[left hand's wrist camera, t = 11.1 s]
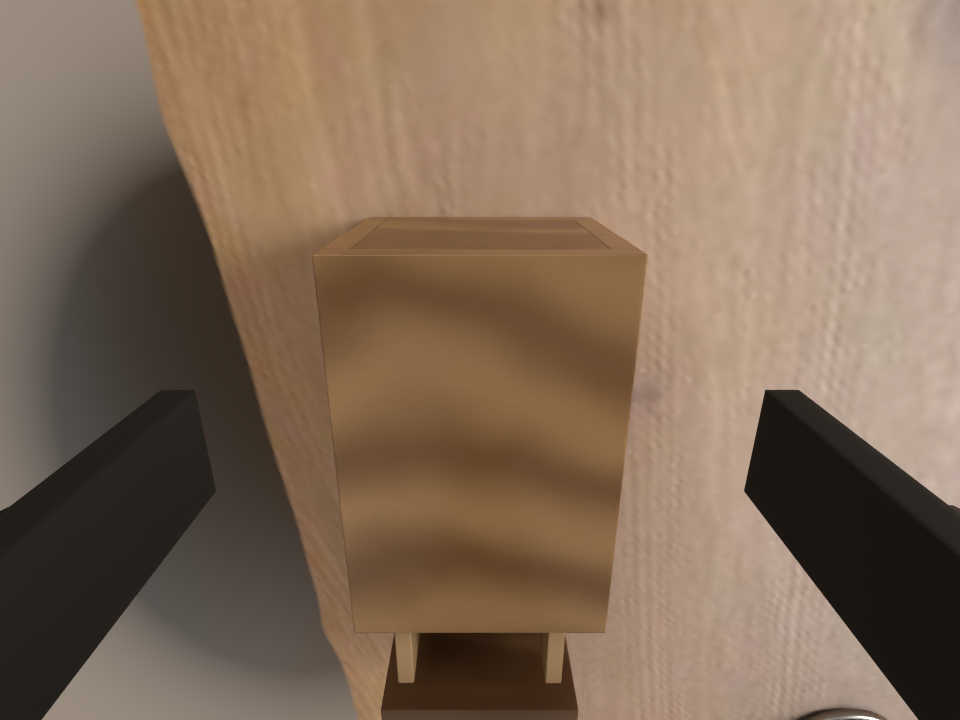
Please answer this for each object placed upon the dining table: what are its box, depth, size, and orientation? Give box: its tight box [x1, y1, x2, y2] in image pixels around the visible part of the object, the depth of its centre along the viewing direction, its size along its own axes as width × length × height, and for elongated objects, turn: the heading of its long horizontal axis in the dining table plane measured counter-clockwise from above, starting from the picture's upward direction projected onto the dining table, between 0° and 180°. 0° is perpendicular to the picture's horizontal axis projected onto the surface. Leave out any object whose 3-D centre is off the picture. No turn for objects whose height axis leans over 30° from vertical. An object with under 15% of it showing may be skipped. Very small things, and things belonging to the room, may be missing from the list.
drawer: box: [381, 633, 578, 720], centre depth 30 cm, size 21×10×8 cm, turn 0°
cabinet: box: [312, 217, 648, 633], centre depth 26 cm, size 17×11×10 cm, turn 0°
